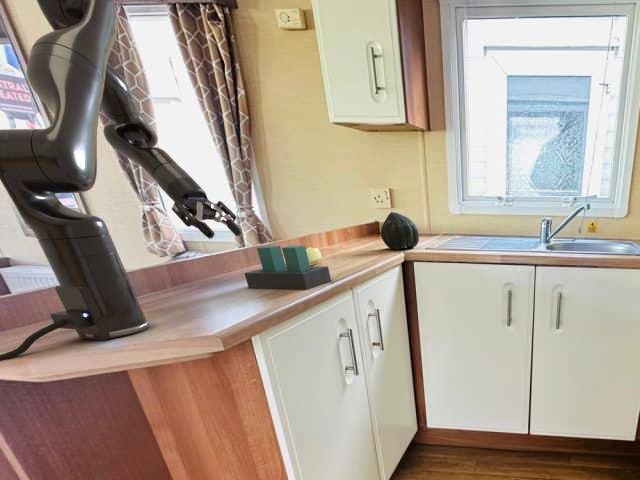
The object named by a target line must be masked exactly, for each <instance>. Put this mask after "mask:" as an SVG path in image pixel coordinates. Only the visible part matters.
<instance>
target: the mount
mask: <svg viewBox="0 0 640 480" xmlns="http://www.w3.org/2000/svg"><path fill="white" fill-rule="evenodd" d="M243 274H244V277H245V281H246V284H247V288H248V289H267V290H268V289H270V290H272V289H273V290H309V289H312V288H315V287H317V286H321V285H323V284H327V283H330V282H332V278H331V273H330V268H329V266H325V265H324V266H318V265H317V266H316V265H315V266H313V265H311V266H310V270H306V271H303V272H288V269H287V266H286V269H284V270H280V271H276V272H264V271H263V268H259V269H256V270H251V271H247V272H244V273H243Z"/></svg>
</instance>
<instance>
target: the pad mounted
mask: <svg viewBox="0 0 640 480" xmlns="http://www.w3.org/2000/svg"><path fill="white" fill-rule="evenodd" d="M306 249H307V248H306V245H289V246H284V247H281V251H282V254H283V258H284V262H285V264H286V265H287V269H288V272H303V271H306V270H310V264H309V260H308V256H307V252H306Z"/></svg>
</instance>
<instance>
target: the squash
mask: <svg viewBox="0 0 640 480" xmlns="http://www.w3.org/2000/svg"><path fill="white" fill-rule="evenodd" d="M380 237H381V239H382V242H383V243H384V244H385V246H386V247H387V248H389V249H390V250H401V249H403V248H408V249H413V248H415V247H416V246H417V245H418V243H419V241H420V234H419V230H418V227H417V226H416V223H414V222H413V220H412V219H410V218H409V217H408V216H406V215H403V214H401V213H398V212H395V211H391V212H390V213H388V215H387V217H386V218H385V220H384V222H383V223H382V225H381V228H380Z"/></svg>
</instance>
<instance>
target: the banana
mask: <svg viewBox="0 0 640 480" xmlns="http://www.w3.org/2000/svg"><path fill="white" fill-rule="evenodd" d="M306 252H307V256H308V260H309V264H310V266H313V265H316V264H318V263H319V262H320V261H321V260H322V258H323V255H322V254H321V251H320V250H319V248H318V247H307V248H306ZM285 266H287V265H286V263H285Z"/></svg>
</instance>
